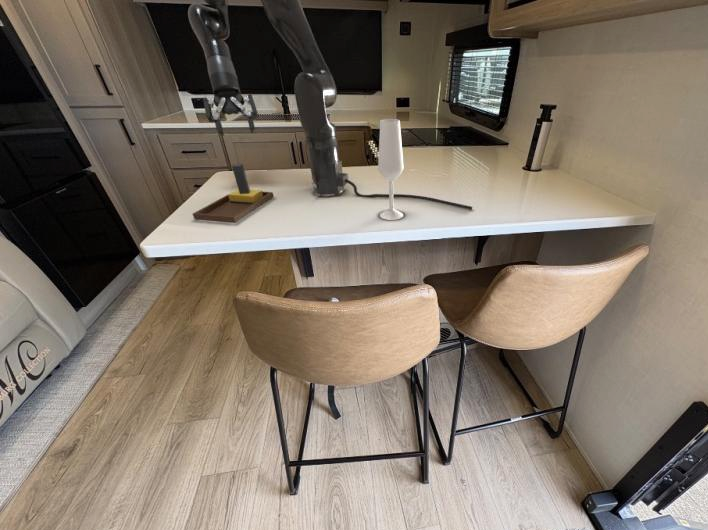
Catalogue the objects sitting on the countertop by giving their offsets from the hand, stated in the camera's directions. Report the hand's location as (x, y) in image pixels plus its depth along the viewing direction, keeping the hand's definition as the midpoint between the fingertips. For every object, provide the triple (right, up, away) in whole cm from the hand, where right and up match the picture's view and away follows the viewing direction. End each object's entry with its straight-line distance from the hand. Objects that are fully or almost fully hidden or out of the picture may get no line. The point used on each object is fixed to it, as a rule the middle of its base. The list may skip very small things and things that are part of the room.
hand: (237, 132), depth 100 cm
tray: (+1, -24, -2) cm, 24 cm away
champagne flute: (+47, -27, -6) cm, 54 cm away
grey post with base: (+2, -20, +2) cm, 20 cm away
